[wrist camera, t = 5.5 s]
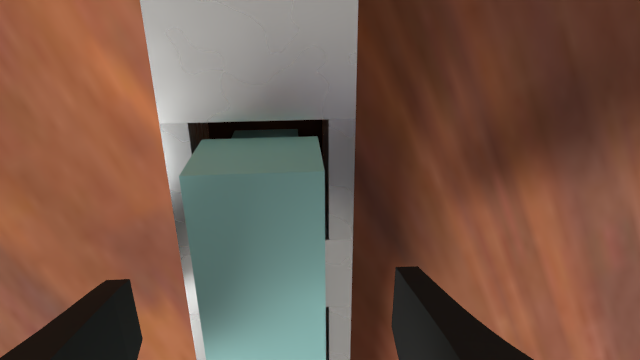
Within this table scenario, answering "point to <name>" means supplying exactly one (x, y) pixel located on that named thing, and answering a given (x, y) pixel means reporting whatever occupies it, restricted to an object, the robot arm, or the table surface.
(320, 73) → the rail
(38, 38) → the table surface
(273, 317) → the teal block
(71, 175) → the table surface
